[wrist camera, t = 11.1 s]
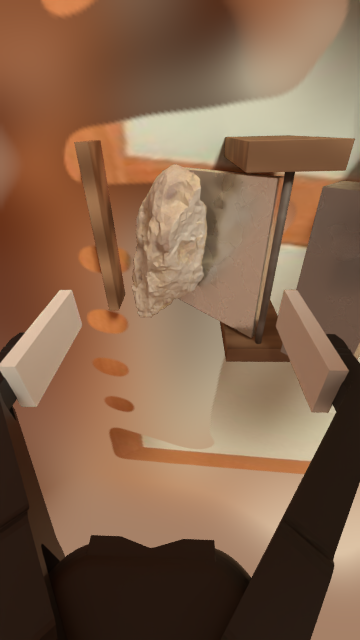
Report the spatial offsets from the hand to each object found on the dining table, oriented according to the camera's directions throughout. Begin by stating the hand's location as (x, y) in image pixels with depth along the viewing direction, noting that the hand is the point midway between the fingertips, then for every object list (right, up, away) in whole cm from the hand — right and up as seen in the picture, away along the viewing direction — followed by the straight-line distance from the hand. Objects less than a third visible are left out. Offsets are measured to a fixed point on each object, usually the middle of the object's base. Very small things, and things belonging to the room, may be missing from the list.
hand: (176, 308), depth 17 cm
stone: (+1, +7, +9) cm, 12 cm away
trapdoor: (+8, +5, +7) cm, 12 cm away
